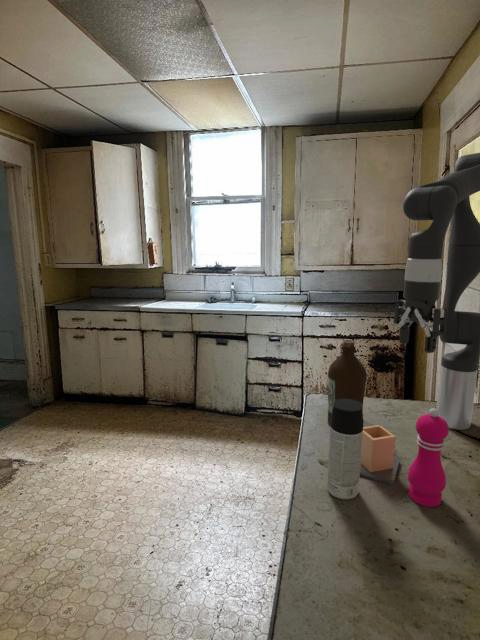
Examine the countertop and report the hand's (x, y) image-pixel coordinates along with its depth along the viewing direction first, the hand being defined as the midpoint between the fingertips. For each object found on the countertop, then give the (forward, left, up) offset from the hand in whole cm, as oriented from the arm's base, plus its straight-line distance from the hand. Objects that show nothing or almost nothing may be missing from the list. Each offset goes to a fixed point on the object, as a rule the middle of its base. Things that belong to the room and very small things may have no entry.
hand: (415, 347), depth 93 cm
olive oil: (-10, -18, -28) cm, 35 cm away
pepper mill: (+16, +5, -28) cm, 33 cm away
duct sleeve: (+9, -6, -27) cm, 29 cm away
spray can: (+22, -10, -28) cm, 37 cm away
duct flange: (+9, -6, -28) cm, 30 cm away
